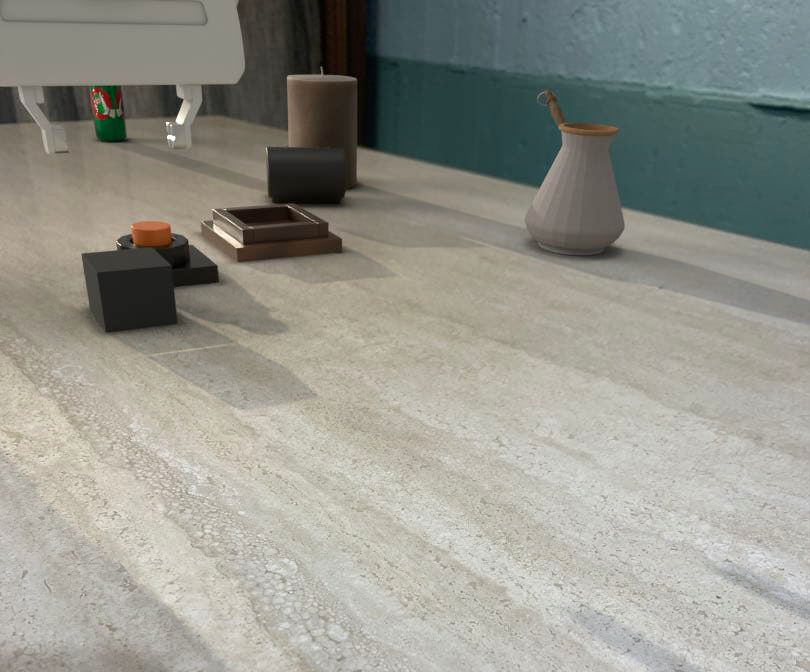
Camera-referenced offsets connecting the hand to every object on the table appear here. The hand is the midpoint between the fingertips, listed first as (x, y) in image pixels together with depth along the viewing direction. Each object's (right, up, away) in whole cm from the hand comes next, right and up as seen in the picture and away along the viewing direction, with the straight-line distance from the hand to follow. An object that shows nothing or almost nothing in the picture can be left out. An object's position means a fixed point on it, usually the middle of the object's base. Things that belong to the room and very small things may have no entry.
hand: (120, 150), depth 67 cm
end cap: (+9, +14, +48) cm, 51 cm away
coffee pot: (+41, +7, +38) cm, 56 cm away
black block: (-1, -11, +7) cm, 13 cm away
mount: (+7, +3, +30) cm, 30 cm away
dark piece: (-2, -5, +17) cm, 18 cm away
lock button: (-2, -2, +16) cm, 16 cm away
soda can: (-28, +38, +80) cm, 93 cm away
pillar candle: (+10, +21, +58) cm, 62 cm away
